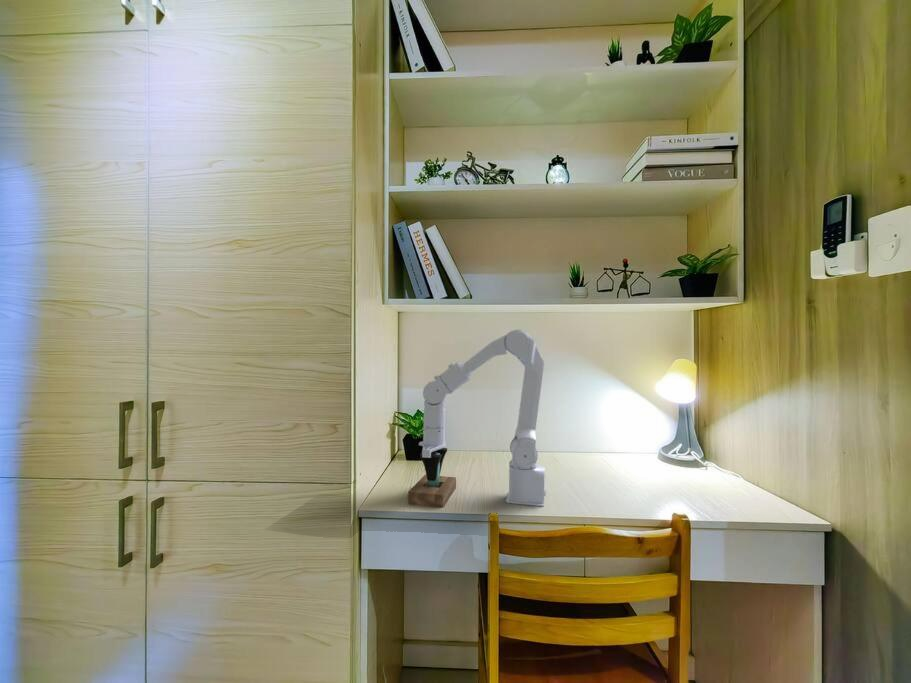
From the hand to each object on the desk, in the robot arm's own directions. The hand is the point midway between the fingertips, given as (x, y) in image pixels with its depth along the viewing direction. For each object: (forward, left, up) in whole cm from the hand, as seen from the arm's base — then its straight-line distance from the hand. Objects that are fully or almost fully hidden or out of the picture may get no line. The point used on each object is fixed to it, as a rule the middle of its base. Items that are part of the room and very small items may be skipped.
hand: (433, 478), depth 111 cm
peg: (0, 0, -3) cm, 3 cm away
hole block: (0, 0, -5) cm, 5 cm away
